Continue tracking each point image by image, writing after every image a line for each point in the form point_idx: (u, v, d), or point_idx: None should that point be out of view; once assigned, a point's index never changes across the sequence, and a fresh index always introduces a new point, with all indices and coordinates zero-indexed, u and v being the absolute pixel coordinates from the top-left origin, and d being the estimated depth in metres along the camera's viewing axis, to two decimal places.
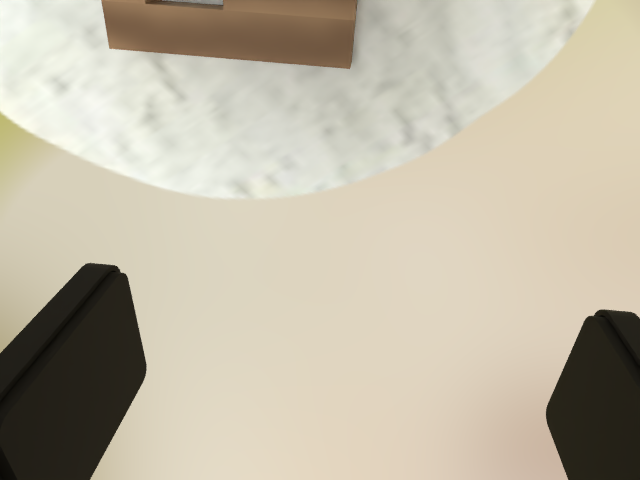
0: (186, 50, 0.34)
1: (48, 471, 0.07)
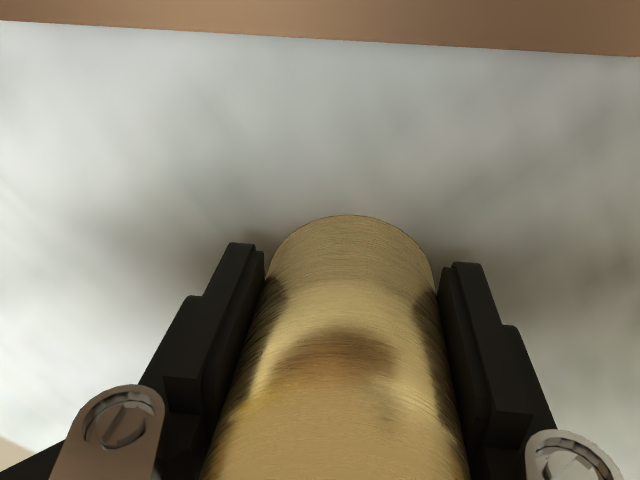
0: None
1: None
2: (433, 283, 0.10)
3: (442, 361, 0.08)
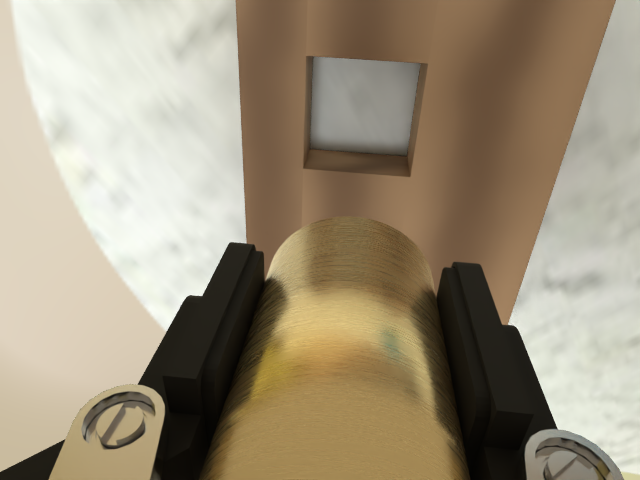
0: (246, 109, 0.23)
1: None
2: (433, 284, 0.10)
3: (442, 362, 0.08)
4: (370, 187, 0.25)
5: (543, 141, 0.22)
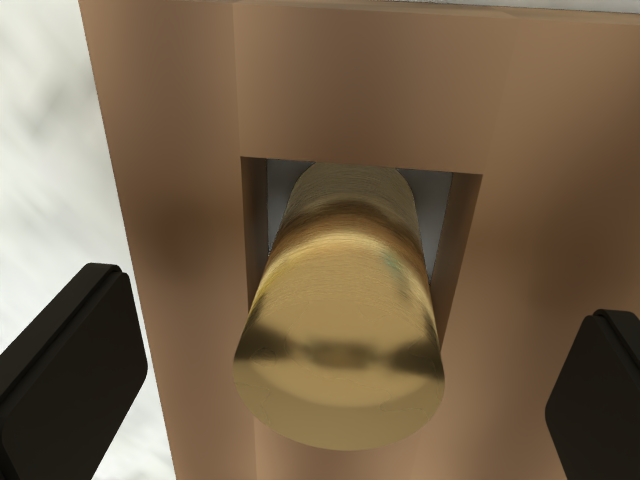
0: (139, 243, 0.12)
1: (50, 470, 0.07)
2: (414, 204, 0.14)
3: (416, 239, 0.11)
4: None
5: None
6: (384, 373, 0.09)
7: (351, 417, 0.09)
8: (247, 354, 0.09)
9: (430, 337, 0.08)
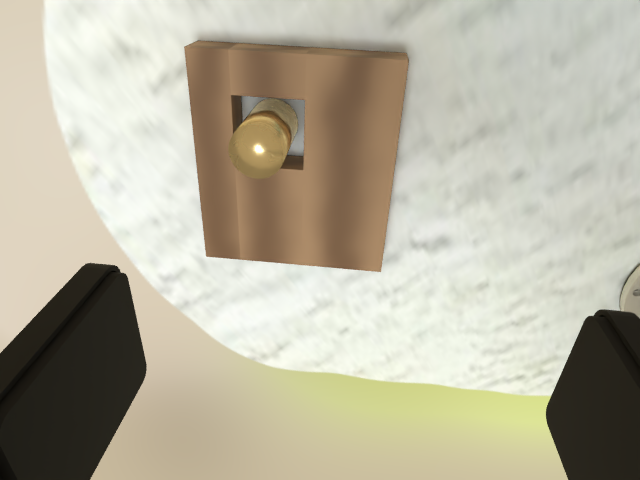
0: (196, 127, 0.36)
1: (48, 471, 0.07)
2: (295, 117, 0.38)
3: (287, 122, 0.35)
4: (279, 177, 0.38)
5: (382, 147, 0.36)
6: (268, 147, 0.32)
7: (261, 164, 0.33)
8: (232, 143, 0.33)
9: (279, 136, 0.32)
